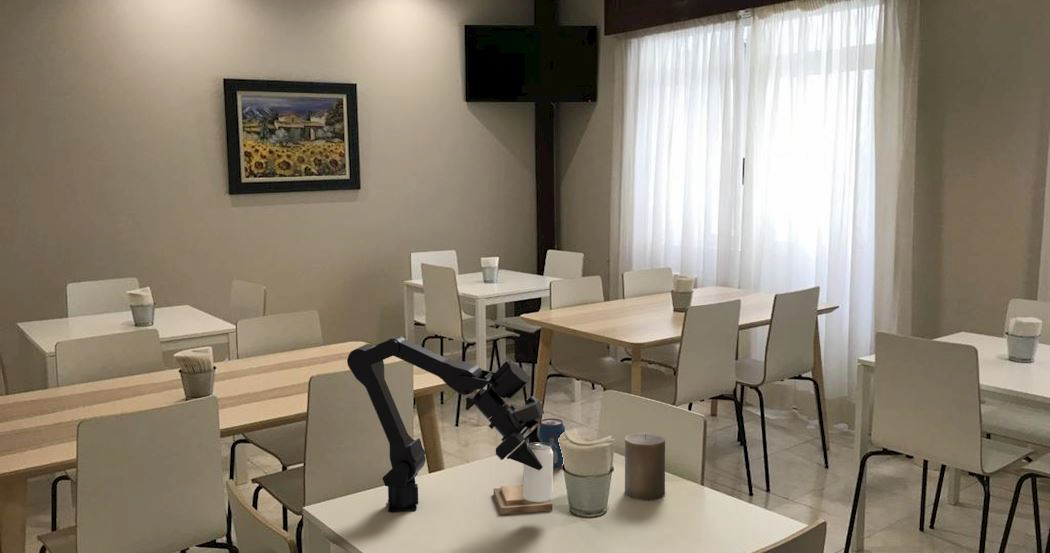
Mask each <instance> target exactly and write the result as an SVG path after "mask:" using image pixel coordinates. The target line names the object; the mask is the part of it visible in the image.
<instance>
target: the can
mask: <svg viewBox="0 0 1050 553" xmlns="http://www.w3.org/2000/svg"><path fill="white" fill-rule="evenodd" d="M529 448H530V449H531V451H532V452H533V453H534V455H535V456H536V458H537V459H538V460H539V462H540V463H541V465H542V469H541V470H537V469H535V468H532V467H530V466H528V465H525V464H523V484H522V485H523V497H524V498H525V500H527V501H529V502H534V503H543V502H548V501H550V500H551V499H552V498H553V485H554V484H553V480H554V478H553V477H554V469H553V451H552V449H551V445H550V444H548V443H542V442H533V443H529ZM551 501H552V500H551Z"/></svg>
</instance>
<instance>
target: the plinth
mask: <svg viewBox="0 0 1050 553" xmlns="http://www.w3.org/2000/svg"><path fill="white" fill-rule="evenodd" d="M493 497H494V500H495V502H496V504H497V507H499V508H498V510H499V513H500V515H509V514H521V513H524V514H525V513H533V512H534V513H537V512H545V511H546V512H547V511H548V512H549V511H554V510H553V507H554V506H553V502H552V500H550V501H548V502H543V503H534V502H529V501H527V500H525V498H524V497H523V484H515V485H503V486H500V487H497V488H493Z"/></svg>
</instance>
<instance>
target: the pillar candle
mask: <svg viewBox="0 0 1050 553" xmlns="http://www.w3.org/2000/svg"><path fill="white" fill-rule="evenodd" d="M625 436H626V437H625V438H624V441H625V442H624V494H625V495H626V496H627V497H629V498H631V499H635V500H639V501H640V500H642V501H655V500H659V499H662V498H663V497H664V496H665V495H666V438H665V437H664V436H663V435H660V434H656V433H651V432H637V433H631V434H628V435H625Z"/></svg>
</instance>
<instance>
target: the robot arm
mask: <svg viewBox="0 0 1050 553" xmlns="http://www.w3.org/2000/svg"><path fill="white" fill-rule="evenodd" d="M391 357H395V358H397V359H400V360H401V361H403V362H406V363H408V364H411V365H413V366H415V367H417V368H419V369H421V370H423V371H426V372H427V373H430V374H432V375H434V376H436V377H438V378H439V379H441V380H442V381H443V383H445V385H446V386H447V387H449V388H450V389H452V390H453V391H454V392H456V393H458V394H460V395H462V396H467V397H465V411H469V410H470V409H471V408H473V407H474V406H475V407H476V409H477V410H478V411H479V412H480V413H481V415H483V416H484V418H485V419H486V420H487V421H488V422H489V423H490V424H488V427H489V428H490V429H491V430H492V429H494V428H495V430H496V431H497V432H498V433H499V434H500V435H501V436H502V438H501V439H500V440H501V442H500V443H499V444H498V445H497V446H496V448H495V455H496V456H497V457H498V458H499V460H500V461H503V460H504V459H505V458H506V459H507V460H513V461H515V462H517V463H521V464H523V465H524V464H525V465H528V466H530V467H532V468H535V469H537V470H541V469H542V465H541V463H540V462H539V460H538V459H537V458H536V456H535V455H534V453H533V452H532V451H531V449H530V448H529V443H533V442H542V440H541V438H540V436H539V429H540V424H541V421H542V418H541V417H542V415H543V414H545V410H544V409H543V406H544V405H543V402H542V401H540V398H537V397H535V396H534V395H532V396H529V397H528V398H526V399H525V404H523V405H521V406H519V407H517V406H516V404H513V403H511V404H508V402H507V401H506V400H505V399H506V398H507V399H512V398H513V397H514V396H515V395H517V394H518V393H519V392H520V391H521V390H522V389H523V388H524V387H525V386H526V385H527V384H529V383H530V377H529V376H528V374H527V373H526V371H525V370H524V368H522V367H520V366H518V364H515V363H513V362H512V361H511V360H509V359H507V360H506V361H505V362H504V363H503V364H501V366H500V368H499V369H497V371H496V372H495V371H489V370H485V369H482V368H481V367H480V366H479V365H477V364H475V363H470V362H467V361H462V360H454V359H450V358H446V357H445V356H442V355H440V354H439V353H436V352H434V351H431V350H430V349H427V348H425V347H423V346H421V345H418V344H417V343H414V342H412V341H410V340H408V339H406V338H404V336H401V335H395V336H393V337H391V338H390V339H388V340H385V341H382V342H380V343H378V344H375V345H374V344H373V343H365V344H364V345H361V346H359V347H357V348H354V349H353V350H351V351H350V353H349V354H348V356H347V359H346V363H347V364H346V365H347V366H348V368H349V370H350V372H351V373H352V374H353V377H354V379H356V380H357V381H358V382H359V383H360V384H361V385H362V386H364V388H365V390H366V392H367V394H368V396H369V400H370V402H371V403H372V406H373V408H374V410H375V413H376V416H377V418H378V420H379V422H380V425H381V427H382V430H383V432H384V434H385V437H386V440H387V441H388V444H389V461H390V465H391V469H389V471H388V472H387V473H385V475H384V476H383V477H382V481H383V483H384V486H385V487H387V494H388V495H387V512H389V513H392V512H393V513H394V512H407V511H416V510H417V509H418V507H417V505H419V486H418V483H416V478H415V477H416V476H418V473H419V472H420V470H422V469H423V468H424V466H425V463H426V454H427V452H426V450H425V449H424V448H423V445H422V440H421V439H420V437H418V438H416V439H414V438H413V437H411V436H410V434H409V433H408V430H407V429H406V426H405V424H404V421H403V420H402V417H401V415H400V412H399V410H398V408H397V405H396V403H395V401H394V399H393V395H392V393H391V391H390V388H389V386H388V384H387V382H386V379H385V363H384V360H386V359H388V358H391ZM489 384H490V386H489V387H488V388H487V389H485V387H486V386H488V385H489ZM476 390H478V391H477V392H476V393H475V394H473V395H470V394H472V393H474V392H475V391H476ZM536 425H537V426H536ZM535 426H536V427H535ZM542 443H543V442H542Z"/></svg>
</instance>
